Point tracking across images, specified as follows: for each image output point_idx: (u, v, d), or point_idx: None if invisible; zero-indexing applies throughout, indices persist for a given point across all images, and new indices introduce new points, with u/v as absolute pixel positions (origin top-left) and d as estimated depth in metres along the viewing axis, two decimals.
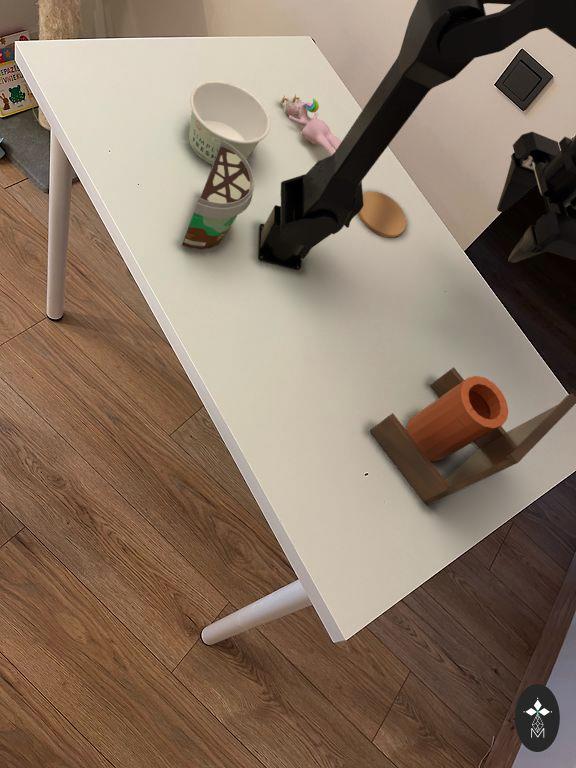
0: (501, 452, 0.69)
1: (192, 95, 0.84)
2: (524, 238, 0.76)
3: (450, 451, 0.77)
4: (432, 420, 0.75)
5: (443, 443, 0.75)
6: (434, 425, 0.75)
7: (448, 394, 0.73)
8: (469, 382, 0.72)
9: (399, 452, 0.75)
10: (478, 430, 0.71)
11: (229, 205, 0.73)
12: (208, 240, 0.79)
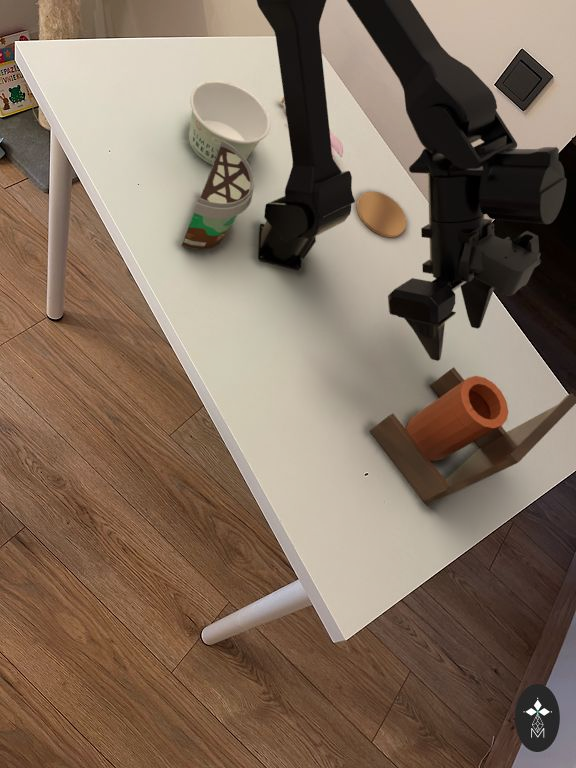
0: (501, 452, 0.69)
1: (192, 95, 0.84)
2: None
3: (450, 451, 0.77)
4: (432, 420, 0.75)
5: (443, 443, 0.75)
6: (434, 425, 0.75)
7: (448, 394, 0.73)
8: (469, 382, 0.72)
9: (399, 452, 0.75)
10: (478, 430, 0.71)
11: (229, 205, 0.73)
12: (208, 240, 0.79)
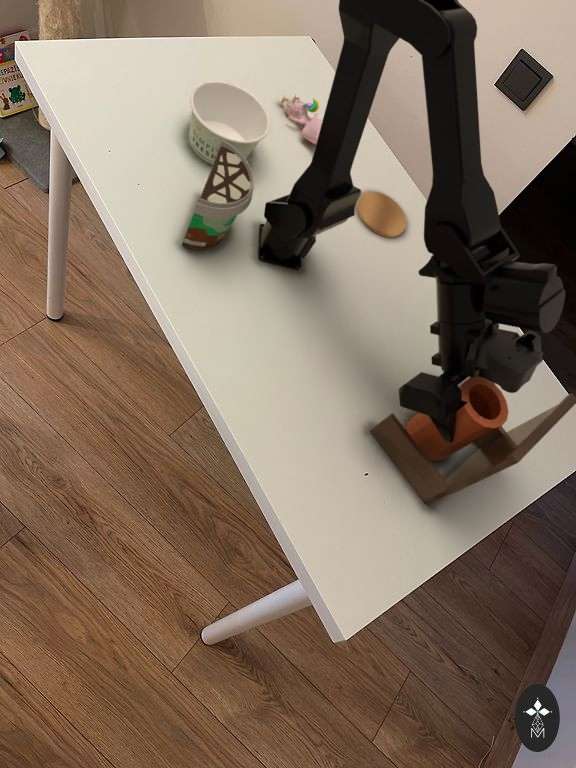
0: (501, 452, 0.69)
1: (192, 95, 0.84)
2: None
3: (450, 451, 0.77)
4: None
5: (443, 443, 0.75)
6: (434, 425, 0.75)
7: None
8: (469, 382, 0.72)
9: (399, 452, 0.75)
10: (478, 430, 0.71)
11: (229, 205, 0.73)
12: (208, 240, 0.79)
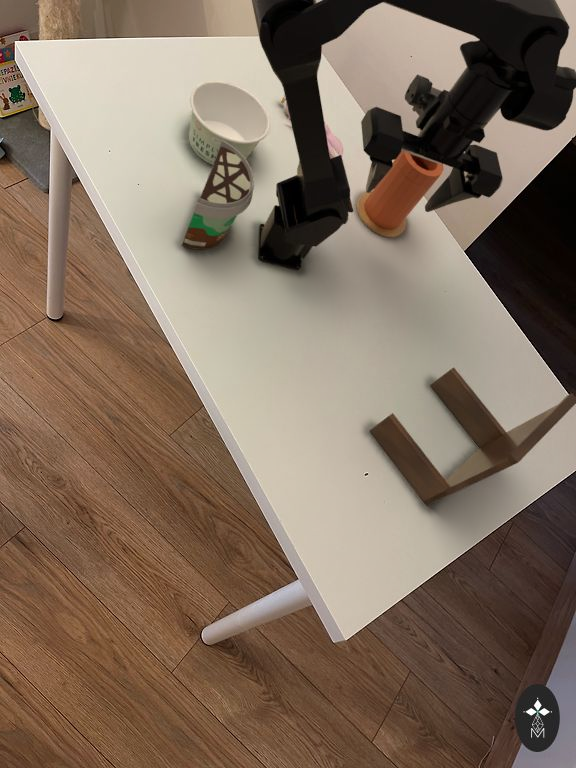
0: (501, 452, 0.69)
1: (192, 95, 0.84)
2: (456, 198, 0.77)
3: None
4: (405, 204, 0.91)
5: (416, 204, 0.93)
6: (409, 204, 0.92)
7: (404, 182, 0.88)
8: (412, 162, 0.86)
9: (399, 452, 0.75)
10: None
11: (229, 205, 0.73)
12: (208, 240, 0.79)
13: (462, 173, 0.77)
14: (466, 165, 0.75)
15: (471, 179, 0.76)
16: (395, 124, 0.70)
